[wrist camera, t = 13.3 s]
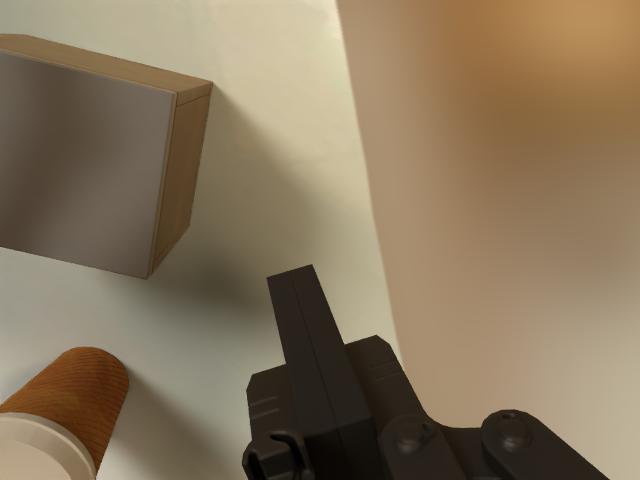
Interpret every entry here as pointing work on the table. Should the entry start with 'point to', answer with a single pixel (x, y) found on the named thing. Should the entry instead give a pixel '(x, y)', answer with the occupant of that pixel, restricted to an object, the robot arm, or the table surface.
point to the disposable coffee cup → (63, 418)
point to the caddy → (184, 132)
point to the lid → (81, 164)
